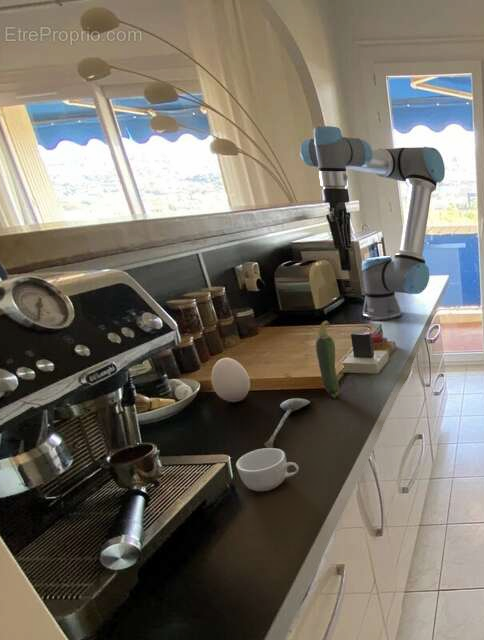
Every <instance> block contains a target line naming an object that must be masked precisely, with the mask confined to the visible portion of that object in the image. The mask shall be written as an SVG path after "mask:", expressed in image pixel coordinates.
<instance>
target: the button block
mask: <svg viewBox="0 0 484 640" xmlns="http://www.w3.org/2000/svg"><path fill="white" fill-rule="evenodd" d="M396 348H397V345H396V340H389V339H388V338H387V337H384V336H383V342H379V343H373V349H374V351H388V357H390V355H391V354H392V353H393V352H394V351H395V349H396Z"/></svg>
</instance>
